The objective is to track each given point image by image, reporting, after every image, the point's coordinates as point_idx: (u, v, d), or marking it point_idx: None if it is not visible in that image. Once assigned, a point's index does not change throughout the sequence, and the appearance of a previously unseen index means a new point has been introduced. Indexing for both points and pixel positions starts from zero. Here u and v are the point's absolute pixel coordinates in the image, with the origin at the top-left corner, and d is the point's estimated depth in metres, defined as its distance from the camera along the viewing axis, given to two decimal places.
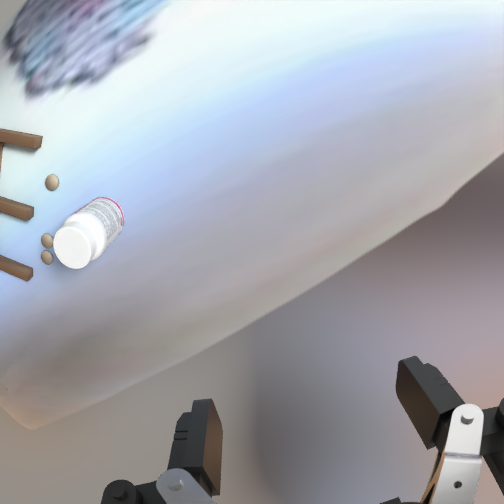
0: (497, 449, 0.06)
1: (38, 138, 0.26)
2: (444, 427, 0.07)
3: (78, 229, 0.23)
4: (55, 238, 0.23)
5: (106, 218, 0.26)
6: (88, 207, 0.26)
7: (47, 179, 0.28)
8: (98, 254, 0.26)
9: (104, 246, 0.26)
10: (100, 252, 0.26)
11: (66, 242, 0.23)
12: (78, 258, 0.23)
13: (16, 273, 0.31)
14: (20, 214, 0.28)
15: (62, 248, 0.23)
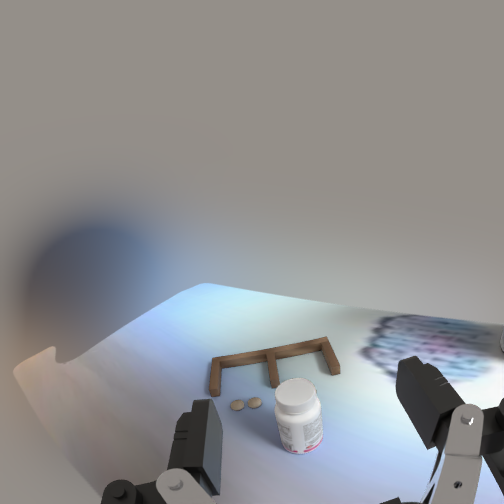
0: (497, 449, 0.06)
1: (339, 370, 0.39)
2: (444, 427, 0.07)
3: (315, 390, 0.27)
4: (296, 378, 0.29)
5: (318, 424, 0.27)
6: None
7: None
8: (290, 420, 0.26)
9: (298, 423, 0.26)
10: (293, 421, 0.26)
11: (298, 386, 0.28)
12: (288, 397, 0.27)
13: (212, 379, 0.41)
14: (273, 375, 0.40)
15: (291, 385, 0.28)
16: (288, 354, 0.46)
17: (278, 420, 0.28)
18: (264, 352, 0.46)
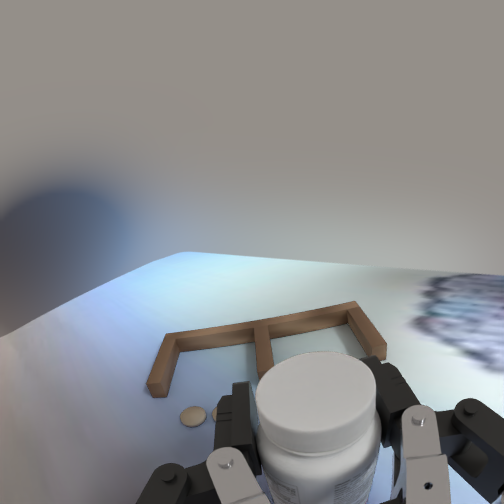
0: (455, 452, 0.07)
1: (384, 352, 0.21)
2: (396, 426, 0.08)
3: (375, 383, 0.09)
4: (318, 353, 0.11)
5: (371, 473, 0.09)
6: None
7: None
8: (300, 471, 0.08)
9: (324, 481, 0.08)
10: (307, 474, 0.08)
11: (325, 372, 0.10)
12: (297, 406, 0.08)
13: (157, 367, 0.23)
14: (263, 362, 0.22)
15: (303, 370, 0.10)
16: (292, 330, 0.27)
17: (265, 467, 0.09)
18: (251, 325, 0.27)
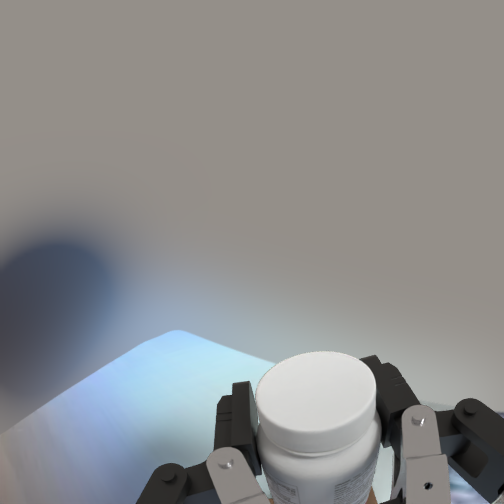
0: (455, 452, 0.07)
1: None
2: (396, 426, 0.08)
3: (375, 383, 0.09)
4: (318, 353, 0.11)
5: (371, 472, 0.09)
6: None
7: None
8: (300, 471, 0.08)
9: (324, 481, 0.08)
10: (307, 474, 0.08)
11: (324, 372, 0.10)
12: (297, 406, 0.08)
13: None
14: None
15: (303, 370, 0.10)
16: None
17: (265, 467, 0.09)
18: None
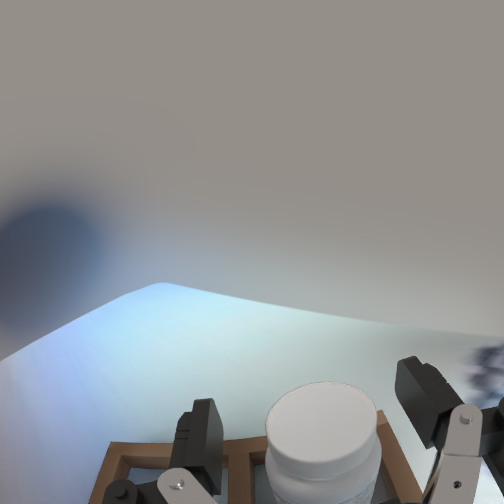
0: (496, 449, 0.06)
1: None
2: (443, 427, 0.08)
3: (376, 414, 0.09)
4: (324, 384, 0.11)
5: (371, 490, 0.09)
6: None
7: None
8: (306, 492, 0.08)
9: (328, 500, 0.08)
10: (313, 495, 0.08)
11: (329, 403, 0.10)
12: (305, 438, 0.09)
13: (94, 503, 0.11)
14: None
15: (309, 401, 0.10)
16: None
17: (274, 487, 0.09)
18: (224, 450, 0.16)
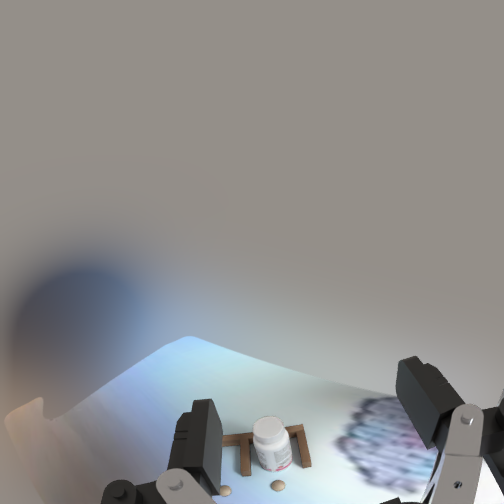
0: (497, 449, 0.06)
1: (310, 464, 0.34)
2: (444, 427, 0.07)
3: (283, 427, 0.34)
4: (270, 416, 0.36)
5: (286, 451, 0.34)
6: None
7: (279, 481, 0.33)
8: (263, 447, 0.33)
9: (270, 450, 0.33)
10: (265, 448, 0.33)
11: (270, 423, 0.35)
12: (262, 431, 0.34)
13: None
14: (244, 465, 0.35)
15: (265, 422, 0.35)
16: None
17: (255, 447, 0.34)
18: (238, 437, 0.41)
